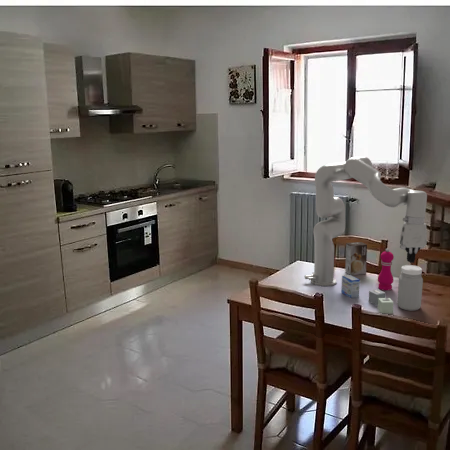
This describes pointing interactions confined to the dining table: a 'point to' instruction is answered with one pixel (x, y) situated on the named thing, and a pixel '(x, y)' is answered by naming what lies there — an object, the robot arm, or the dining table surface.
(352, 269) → the coffee box
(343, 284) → the medicine box
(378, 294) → the slate block
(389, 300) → the sage block
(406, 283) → the jar
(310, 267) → the dining table surface
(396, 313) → the dining table surface
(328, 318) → the dining table surface
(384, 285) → the pepper mill
